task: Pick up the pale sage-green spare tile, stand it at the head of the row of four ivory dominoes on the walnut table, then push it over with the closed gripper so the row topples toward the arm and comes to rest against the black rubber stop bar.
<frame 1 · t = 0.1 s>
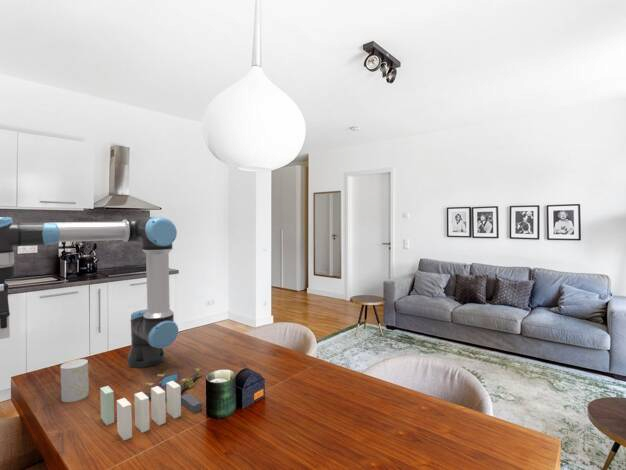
hand: (1, 333, 109), 28 cm above the table, fingers open, 13 cm apart
domino 2: (124, 435, 103), on the table
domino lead: (107, 420, 110), on the table
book: (168, 391, 130), on the table
cup: (75, 396, 125), on the table
domino 4: (158, 420, 110), on the table
domino 5: (173, 414, 114), on the table
stop bar: (191, 406, 118), on the table
domino 3: (142, 427, 106), on the table
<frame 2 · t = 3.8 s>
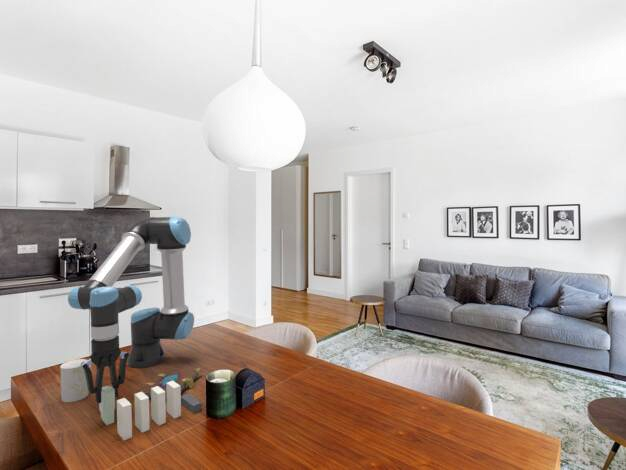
hand: (107, 409, 110), 4 cm above the table, fingers closed on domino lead, 2 cm apart
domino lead: (107, 420, 110), on the table, touching gripper
everything else where it was.
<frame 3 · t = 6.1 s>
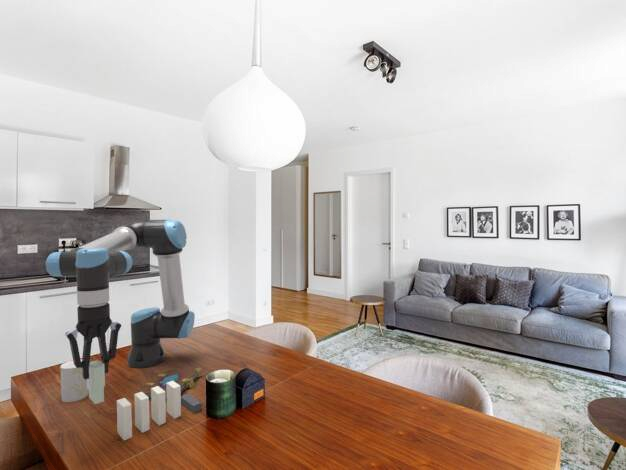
hand: (96, 387, 97), 17 cm above the table, fingers closed on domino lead, 2 cm apart
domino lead: (96, 399, 97), point 14 cm above the table, touching gripper
everything else where it was.
when the fingers open (4 cm above the table, at t = 8.6 s): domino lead stays where it is, on the table.
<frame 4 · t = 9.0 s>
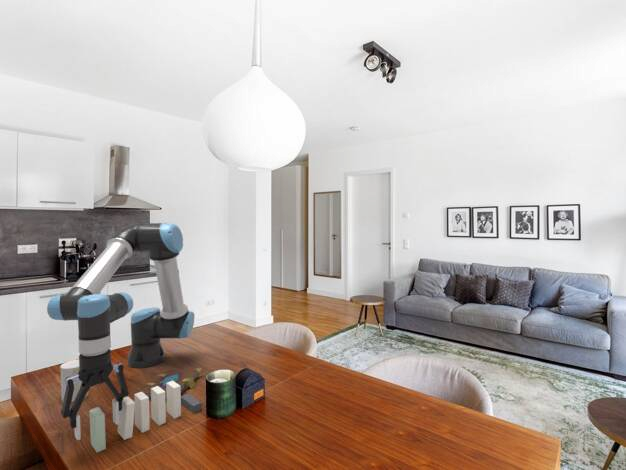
hand: (97, 429, 97), 5 cm above the table, fingers open, 9 cm apart
domino 2: (124, 434, 103), on the table, tilted 6°
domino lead: (98, 446, 97), on the table
everything else where it was.
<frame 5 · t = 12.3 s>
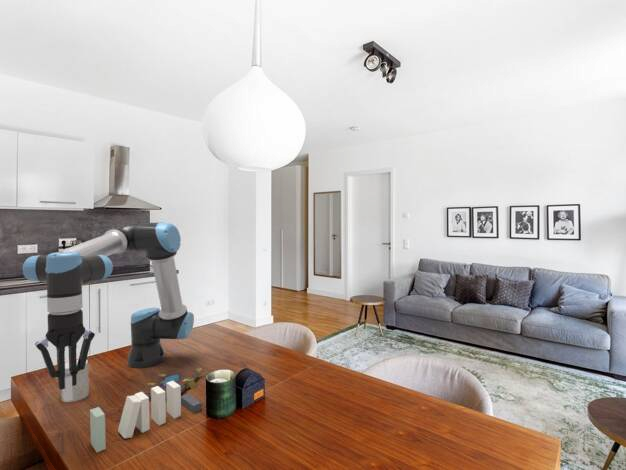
hand: (67, 398, 92), 16 cm above the table, fingers closed
domino 2: (124, 433, 103), on the table, tilted 16°, touching domino 3
domino 3: (142, 427, 106), on the table, touching domino 2
everything else where it was.
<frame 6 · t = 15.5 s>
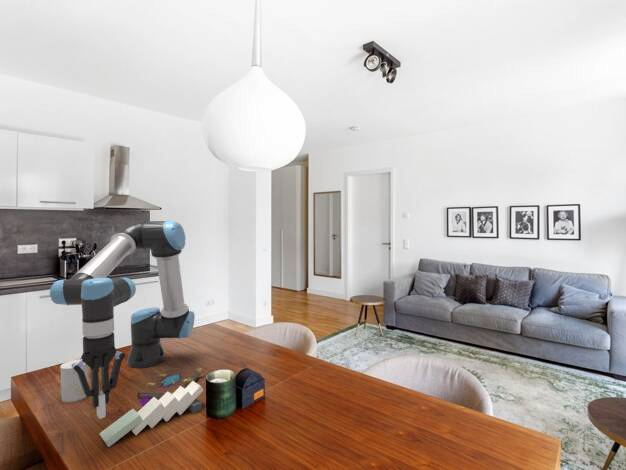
hand: (101, 415, 98), 8 cm above the table, fingers closed
domino 2: (130, 429, 104), point 1 cm above the table, tilted 60°, touching domino 3
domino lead: (103, 440, 98), point 1 cm above the table, tilted 68°
domino 4: (161, 416, 110), point 1 cm above the table, tilted 58°, touching domino 3, domino 5
domino 5: (174, 410, 114), point 1 cm above the table, tilted 58°, touching domino 4, stop bar
domino 3: (146, 422, 107), point 1 cm above the table, tilted 59°, touching domino 2, domino 4
everything else where it was.
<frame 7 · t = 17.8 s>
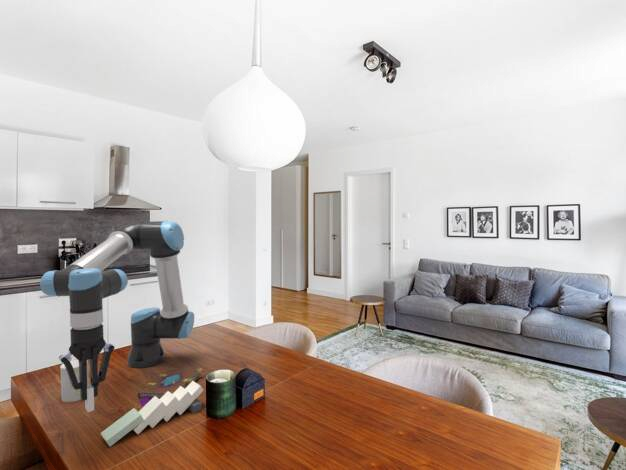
hand: (89, 409, 96), 11 cm above the table, fingers closed
domino 2: (132, 428, 104), point 1 cm above the table, tilted 59°, touching domino 3, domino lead
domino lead: (105, 439, 99), point 1 cm above the table, tilted 68°, touching domino 2
domino 4: (161, 416, 110), point 1 cm above the table, tilted 58°, touching domino 5
domino 3: (147, 422, 107), point 1 cm above the table, tilted 59°, touching domino 2
everything else where it was.
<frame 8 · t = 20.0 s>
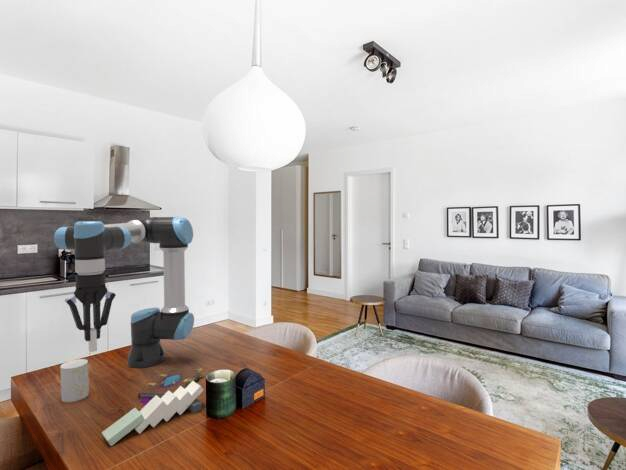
hand: (92, 350, 104), 24 cm above the table, fingers closed
domino 4: (161, 416, 110), point 1 cm above the table, tilted 58°, touching domino 3, domino 5
domino 3: (148, 422, 107), point 1 cm above the table, tilted 58°, touching domino 2, domino 4
at the end: domino 5 tilted 58°; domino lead tilted 69°; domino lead inside the target area (1.1 cm from its centre), point 1.0 cm above the table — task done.
